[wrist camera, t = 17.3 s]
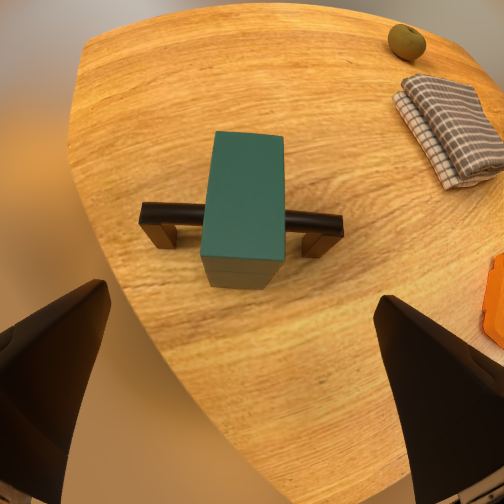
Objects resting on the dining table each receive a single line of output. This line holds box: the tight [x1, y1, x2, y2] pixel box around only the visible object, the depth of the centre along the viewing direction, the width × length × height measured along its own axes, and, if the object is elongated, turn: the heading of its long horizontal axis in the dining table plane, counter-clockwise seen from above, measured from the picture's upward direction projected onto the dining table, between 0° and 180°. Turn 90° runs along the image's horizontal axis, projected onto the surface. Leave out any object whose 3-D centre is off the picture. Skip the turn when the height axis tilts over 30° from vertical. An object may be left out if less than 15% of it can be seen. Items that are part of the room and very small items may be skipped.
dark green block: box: [200, 131, 285, 290], centre depth 18 cm, size 8×4×8 cm, turn 178°
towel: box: [392, 74, 504, 190], centre depth 26 cm, size 15×18×8 cm
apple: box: [388, 24, 426, 60], centre depth 33 cm, size 8×8×7 cm
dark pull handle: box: [139, 202, 344, 258], centre depth 20 cm, size 2×14×6 cm, turn 88°
